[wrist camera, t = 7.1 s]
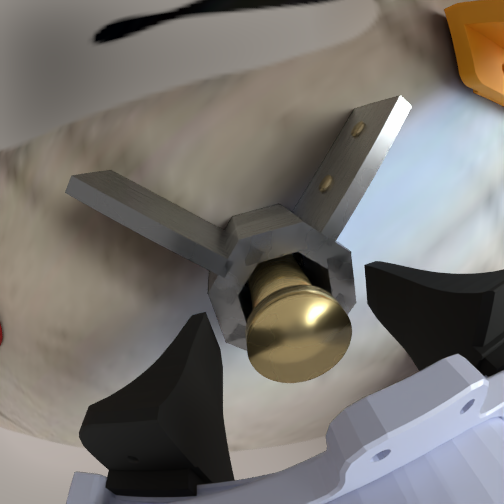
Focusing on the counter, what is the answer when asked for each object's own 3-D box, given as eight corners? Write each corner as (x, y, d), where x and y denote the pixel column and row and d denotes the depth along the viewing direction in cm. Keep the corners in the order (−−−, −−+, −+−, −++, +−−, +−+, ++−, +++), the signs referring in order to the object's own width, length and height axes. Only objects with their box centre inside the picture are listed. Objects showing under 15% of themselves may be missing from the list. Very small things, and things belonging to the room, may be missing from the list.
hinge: (396, 143, 16) (447, 144, 11) (284, 324, 19) (303, 371, 14) (204, 20, 13) (201, -24, 8) (87, 225, 16) (47, 249, 11)
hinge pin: (314, 257, 18) (371, 326, 10) (276, 305, 19) (305, 394, 11) (263, 221, 17) (294, 276, 9) (224, 274, 18) (225, 359, 10)
